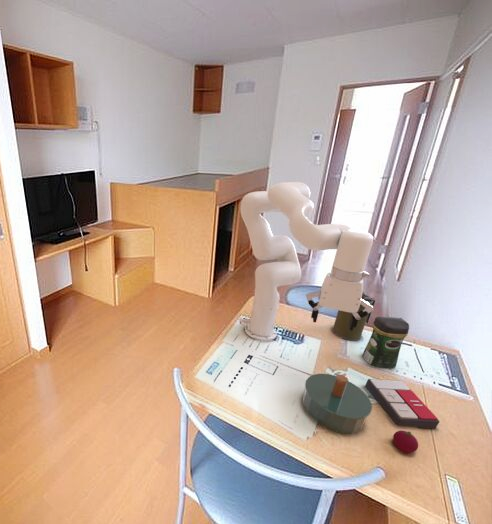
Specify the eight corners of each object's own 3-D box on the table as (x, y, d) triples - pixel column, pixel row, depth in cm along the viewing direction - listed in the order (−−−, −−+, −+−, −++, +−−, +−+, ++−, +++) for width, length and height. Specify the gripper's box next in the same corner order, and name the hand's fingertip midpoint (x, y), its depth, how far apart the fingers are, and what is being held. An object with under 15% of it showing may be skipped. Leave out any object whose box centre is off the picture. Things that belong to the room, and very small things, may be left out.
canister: (334, 337, 126) (346, 294, 118) (330, 324, 135) (342, 283, 127) (365, 343, 122) (380, 299, 115) (359, 329, 131) (372, 288, 123)
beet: (417, 460, 78) (425, 444, 75) (392, 452, 80) (400, 435, 77) (411, 444, 82) (419, 428, 80) (388, 436, 84) (395, 420, 82)
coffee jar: (385, 356, 115) (400, 314, 108) (398, 370, 108) (416, 326, 101) (357, 354, 116) (371, 312, 109) (369, 368, 109) (385, 324, 102)
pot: (302, 421, 88) (307, 404, 86) (302, 385, 101) (306, 369, 99) (366, 443, 82) (374, 426, 79) (358, 402, 95) (364, 386, 92)
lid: (304, 407, 86) (310, 387, 83) (304, 369, 100) (309, 352, 97) (376, 430, 79) (384, 410, 76) (365, 387, 93) (372, 368, 90)
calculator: (400, 417, 85) (368, 376, 99) (395, 428, 87) (363, 386, 100) (441, 420, 85) (403, 378, 98) (435, 430, 86) (398, 388, 100)
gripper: (380, 274, 87) (363, 325, 93) (312, 263, 94) (300, 311, 100) (386, 284, 80) (367, 338, 87) (312, 272, 87) (300, 323, 94)
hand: (331, 324), depth 93 cm, fingers open, 9 cm apart
